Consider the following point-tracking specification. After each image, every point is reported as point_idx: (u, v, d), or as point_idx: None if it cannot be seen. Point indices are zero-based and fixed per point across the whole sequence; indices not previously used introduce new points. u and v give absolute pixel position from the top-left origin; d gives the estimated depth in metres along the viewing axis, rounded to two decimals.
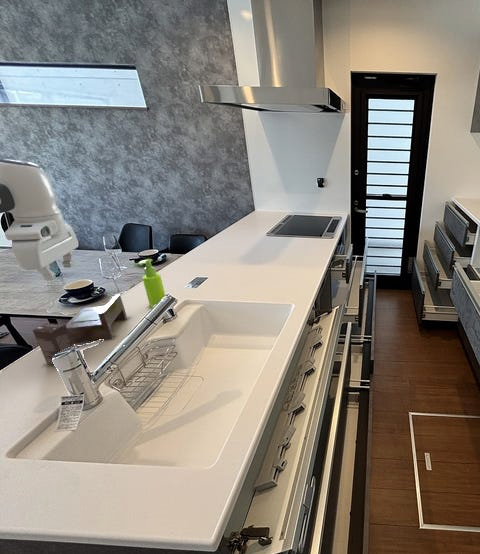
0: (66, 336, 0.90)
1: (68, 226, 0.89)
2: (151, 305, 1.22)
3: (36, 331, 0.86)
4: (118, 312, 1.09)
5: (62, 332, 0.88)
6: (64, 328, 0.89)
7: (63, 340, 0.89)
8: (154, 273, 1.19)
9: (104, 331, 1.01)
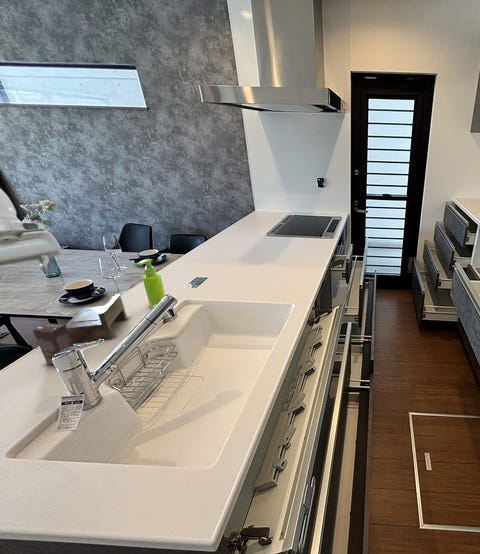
0: (66, 336, 0.90)
1: None
2: (151, 305, 1.22)
3: (36, 331, 0.86)
4: (118, 312, 1.09)
5: (62, 332, 0.88)
6: (64, 328, 0.89)
7: (63, 340, 0.89)
8: (154, 273, 1.19)
9: (104, 331, 1.01)
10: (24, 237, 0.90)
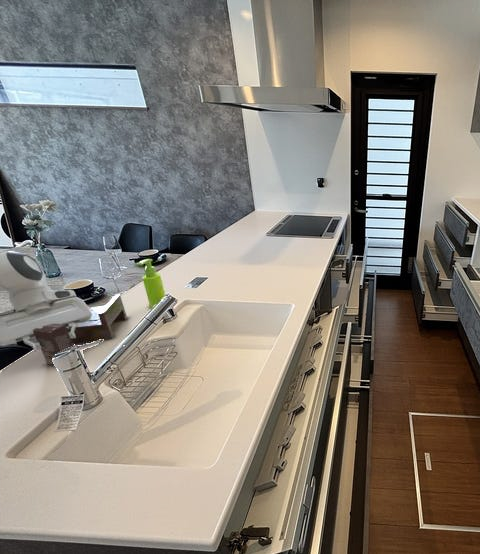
0: (66, 336, 0.89)
1: None
2: (151, 305, 1.22)
3: (36, 331, 0.86)
4: (118, 312, 1.09)
5: (61, 332, 0.88)
6: (64, 328, 0.89)
7: (62, 340, 0.89)
8: (154, 273, 1.19)
9: (104, 331, 1.01)
10: (57, 306, 0.91)
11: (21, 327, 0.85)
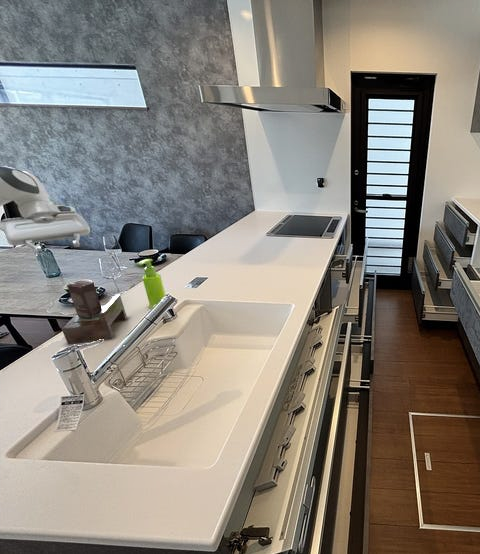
0: (93, 293, 1.02)
1: None
2: (151, 305, 1.22)
3: (69, 286, 0.99)
4: (118, 312, 1.09)
5: (90, 289, 1.00)
6: (92, 285, 1.01)
7: (90, 296, 1.01)
8: (154, 273, 1.19)
9: (104, 331, 1.01)
10: (59, 218, 1.05)
11: (29, 231, 0.98)
